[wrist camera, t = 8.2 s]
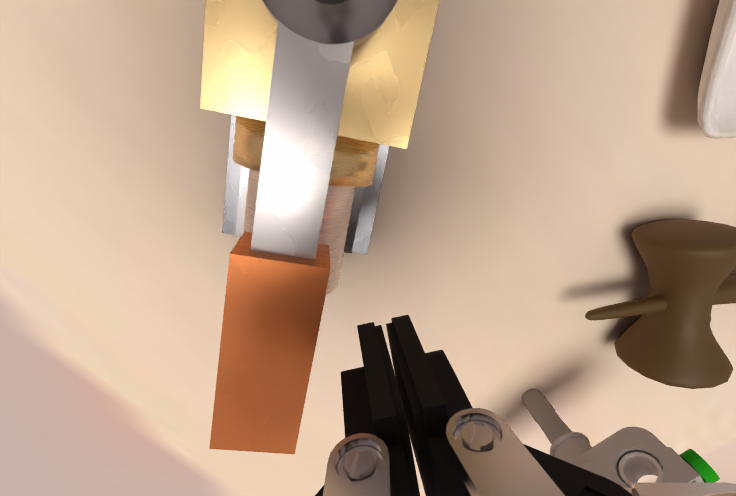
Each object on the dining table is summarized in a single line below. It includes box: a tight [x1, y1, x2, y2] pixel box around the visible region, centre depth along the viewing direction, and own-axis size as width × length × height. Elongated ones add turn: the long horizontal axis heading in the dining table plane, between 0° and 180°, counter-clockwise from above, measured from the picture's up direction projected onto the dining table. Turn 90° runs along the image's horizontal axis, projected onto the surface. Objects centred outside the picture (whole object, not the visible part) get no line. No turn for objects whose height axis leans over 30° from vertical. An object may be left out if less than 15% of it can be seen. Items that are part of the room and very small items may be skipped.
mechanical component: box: [522, 389, 720, 488], centre depth 24 cm, size 3×10×10 cm, turn 128°
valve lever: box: [210, 0, 398, 454], centre depth 9 cm, size 14×3×2 cm, turn 168°
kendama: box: [585, 220, 736, 389], centre depth 24 cm, size 6×10×20 cm
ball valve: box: [200, 0, 440, 294], centre depth 14 cm, size 20×8×11 cm, turn 169°
